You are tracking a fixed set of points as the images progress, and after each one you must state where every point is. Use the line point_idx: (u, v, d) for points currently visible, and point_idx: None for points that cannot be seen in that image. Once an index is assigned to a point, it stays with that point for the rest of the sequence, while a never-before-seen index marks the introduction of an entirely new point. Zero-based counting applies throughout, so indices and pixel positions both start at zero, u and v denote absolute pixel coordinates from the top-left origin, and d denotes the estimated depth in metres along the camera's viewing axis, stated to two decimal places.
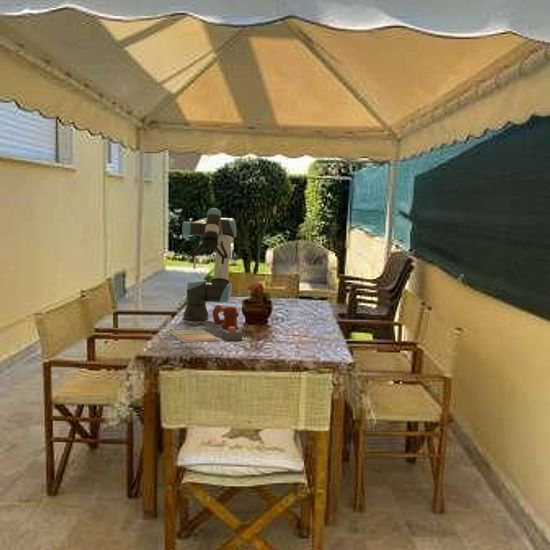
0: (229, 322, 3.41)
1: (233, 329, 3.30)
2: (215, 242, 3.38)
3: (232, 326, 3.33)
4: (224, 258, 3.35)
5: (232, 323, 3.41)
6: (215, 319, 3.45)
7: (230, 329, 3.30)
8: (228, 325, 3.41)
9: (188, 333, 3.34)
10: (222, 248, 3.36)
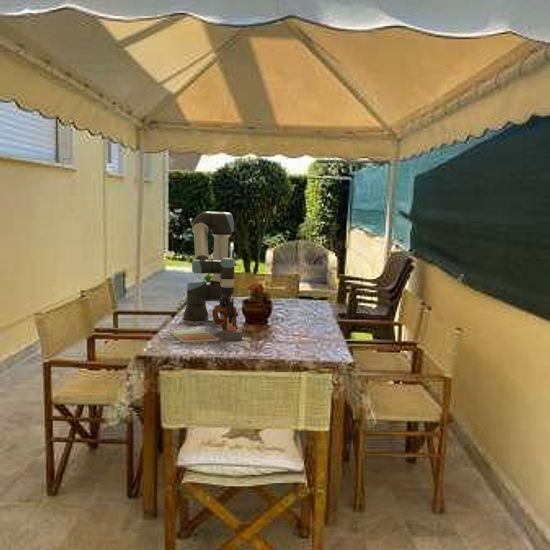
0: None
1: (233, 329, 3.30)
2: (226, 298, 3.40)
3: (232, 326, 3.33)
4: (231, 317, 3.38)
5: (232, 323, 3.42)
6: (215, 319, 3.45)
7: (230, 329, 3.30)
8: None
9: (188, 333, 3.34)
10: (228, 306, 3.37)
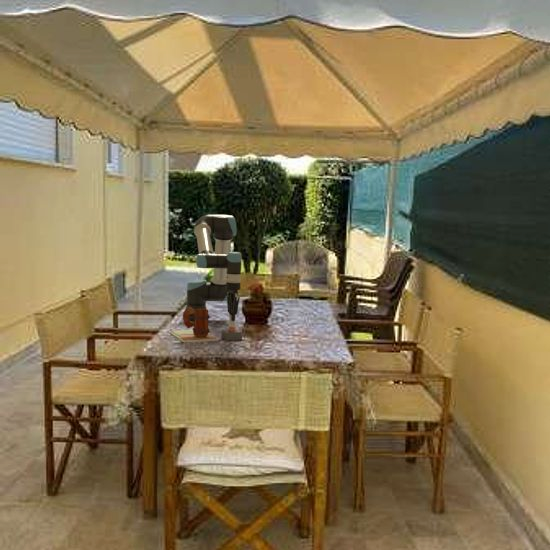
0: (200, 325, 3.24)
1: (233, 329, 3.30)
2: (233, 293, 3.26)
3: None
4: (234, 315, 3.29)
5: (203, 326, 3.24)
6: (185, 322, 3.28)
7: (230, 329, 3.30)
8: (199, 328, 3.24)
9: (188, 333, 3.34)
10: (233, 304, 3.26)
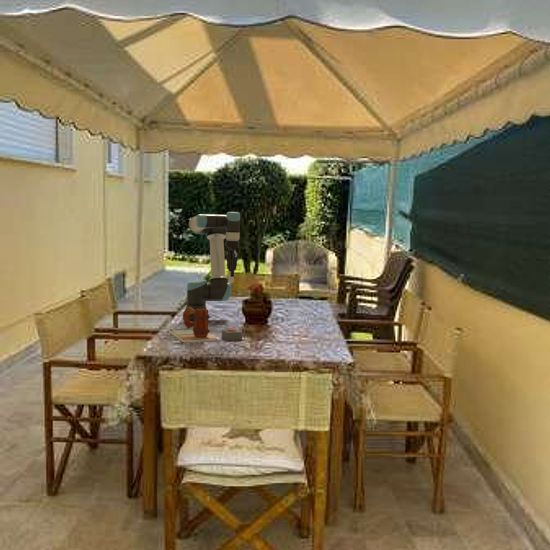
0: (200, 325, 3.24)
1: (233, 331, 3.30)
2: (232, 250, 3.48)
3: None
4: (233, 271, 3.51)
5: (203, 326, 3.24)
6: (185, 322, 3.28)
7: (230, 331, 3.30)
8: (199, 328, 3.24)
9: (188, 333, 3.34)
10: (232, 260, 3.48)
